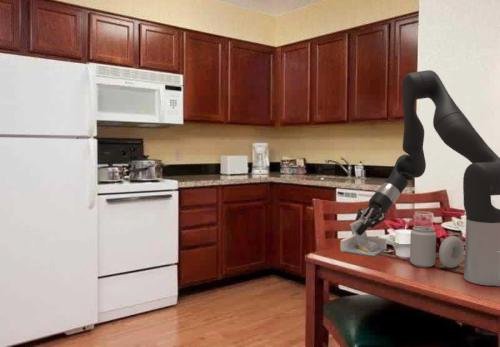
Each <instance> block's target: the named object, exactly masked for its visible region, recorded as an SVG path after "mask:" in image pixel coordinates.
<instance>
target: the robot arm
mask: <svg viewBox="0 0 500 347" xmlns="http://www.w3.org/2000/svg"><path fill="white" fill-rule="evenodd" d="M401 98H402V99H401V100H402V113H403V136H402V137H403V138H402V151H403V152H404V153H405V154H402V155H400V156H399V157H398V158H397V159H396V161H395V164H394V166H393V169H392V171H391V173H390V175H389V177H387V178H386V180H385V181H384V182H383V184H381V185H380V186H379V187H378V189H377V190H376V191H375V193H373V195H371V197H370V199H368V203H369V204H368V205H367V206H366V207H365V208H364V209H362V208H359V209H358V211H357V213H356V217H355V221H357V220H363V224H362V225H361V226H360V227H359V229H358V230H357V231H356V232H357V233H358V235H362V234H363V233H364V232H365V230H366V231H367V229H369V228H371V229H373V228H375V227H376V226H377V225H379V224H380V223H382V222H384V221H385V220H386V217H385V216H384V214H386V213H387V212H388V211H389V210H390V209H391V207H392V206H394V204H395V203H396V202H397V200H398V198H399V197H400V196H401V194H402V193H403V191H404V190H405V189H406V187H407V186H408V184H409V181H408V180H407V178H406V176H404V175H403V174H405V175H407V176H410V177H412V178H420V177H422V176H423V175H424V173H425V171H426V167H427V164H426V157H425V152H424V142H425V127H424V125H423V124H422V121H421V120H420V118H419V116H418V115H417V112H416V109H415V108H416V107H415V106H416V100H424V99H430V100H431V101H432V103H433V105H434V106H435V110H434V114H433V120H432V124H433V125H432V126H433V129H434V131H435V133H437V135H438V136H439V138H440V139H441V141H442V142H443V143H444V144H445V145H446V146H447V147H449V148H451V149H452V150H453V151H454V152H456V153H458V154H459V155H461V156H462V157H464V158H465V159H467V160H468V161H469V163H471V164H469V165H468V166H466V168H465V170H464V173H463V178H462V179H463V180H462V183H463V185H462V188H463V189H462V190H463V192H462V193H463V208H464V209H463V210H464V211H465V240H464V243H465V245H464V246H465V247H464V267H463V268H464V270H463V273H464V275H463V279H464V280H465V281H466V282H469V283H472V284H477V285H481V286H490V287H491V286H494V287H500V208H497V207H495V206H494V205H493V203H492V197H493V196H500V156H499V155H498V154H496V153H495V151H493V149H492V148H491V147H490V146H489V145H488V144H487V143H486V141H485V140H484V138H482V136H481V135H480V133H479V132H478V131H477V130H476V128H475V127H474V125H473V124H472V122H470V120H469V119H468V117H466V115H465V113H463V110H461V109H460V108H459V106H458V105H457V103H456V102H455V101H454V99H453V98H452V97H451V95H450V94H449V92H448V90H447V88H446V86H445V85H444V83H443V81H442V79H441V77H440V76H439V75H438V74H437V73H436V71H434V70H430V69H429V70H428V69H427V70H421V71H415V72H413V71H412V72H409V73H406V74H405V75H404V76H403V79H402V83H401Z"/></svg>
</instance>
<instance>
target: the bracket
mask: <svg viewBox="0 0 500 347" xmlns="http://www.w3.org/2000/svg"><path fill="white" fill-rule="evenodd" d="M363 221H364V220H357V221H356V220H355V221H353V222H350V223H349V226H350V231H351V234H352V235H353V238H354V242H355V246H356V248H357V249H360V250H363V251H365V252H370V251H372V250H374V249H376V248H378V245H377V243H374V242H371V241H368V237H367V236H368V234H367V229H366V230H365V232H364V233H363V234H362V235H358V233H357V232H356V231H357V230H358V229H359V227H360V226H361V225H362V224H363Z"/></svg>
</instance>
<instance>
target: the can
mask: <svg viewBox="0 0 500 347" xmlns="http://www.w3.org/2000/svg"><path fill="white" fill-rule="evenodd" d="M409 242H410V248H409V249H410V251H409V252H410V253H409V262H410V263H411V264H412V265H413V266H414V267H418V268H432V267H433V266H435V265H436V256H437V255H436V253H437V252H436V250H437V249H436V248H437V233H436V232H435V228H434V227H430V226H425V225H423V226H422V225H419V226H417V225H416V226H413V227H412V230H410V241H409Z"/></svg>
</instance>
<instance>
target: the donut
mask: <svg viewBox="0 0 500 347" xmlns="http://www.w3.org/2000/svg"><path fill="white" fill-rule="evenodd" d="M464 246H465V245H464V243H463V242H462V239H460V237H458V236H455V235H450V236H447V237H445V239H444V240H443V241H442V242H441V244H440V246H439V250H438V258H439V261H440V263H441V264H442V265H443V266H444V267H445V268H446V269H454V268H456V267H458V266H459V265H460V264H461V262H462V260H463V258H464V256H465V247H464Z"/></svg>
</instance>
